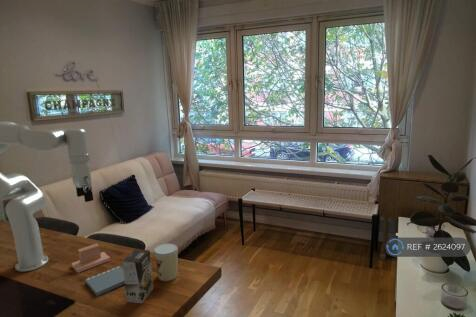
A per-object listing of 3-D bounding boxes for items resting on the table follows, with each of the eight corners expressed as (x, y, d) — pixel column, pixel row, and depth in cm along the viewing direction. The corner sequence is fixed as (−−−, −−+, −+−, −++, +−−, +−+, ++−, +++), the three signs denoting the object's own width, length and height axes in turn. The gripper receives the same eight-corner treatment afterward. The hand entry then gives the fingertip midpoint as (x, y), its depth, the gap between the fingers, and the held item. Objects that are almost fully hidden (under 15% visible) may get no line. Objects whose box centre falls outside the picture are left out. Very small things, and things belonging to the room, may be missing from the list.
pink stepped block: (71, 266, 143) (69, 250, 141) (104, 254, 152) (102, 239, 150) (77, 273, 138) (74, 256, 136) (110, 260, 147) (108, 245, 145)
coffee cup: (154, 272, 136) (151, 246, 133) (176, 267, 139) (174, 241, 137) (158, 284, 128) (155, 256, 125) (182, 278, 131) (179, 250, 128)
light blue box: (85, 283, 130) (85, 279, 130) (120, 269, 139) (119, 265, 139) (96, 296, 121) (96, 292, 121) (132, 280, 131) (132, 276, 130)
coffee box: (142, 303, 116) (138, 262, 113) (126, 302, 118) (121, 261, 114) (154, 288, 125) (150, 249, 122) (138, 287, 126) (134, 248, 123)
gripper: (63, 157, 138) (69, 196, 142) (76, 163, 126) (82, 205, 130) (82, 154, 143) (87, 192, 147) (96, 160, 131) (101, 200, 134)
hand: (85, 198), depth 138 cm, fingers open, 9 cm apart
